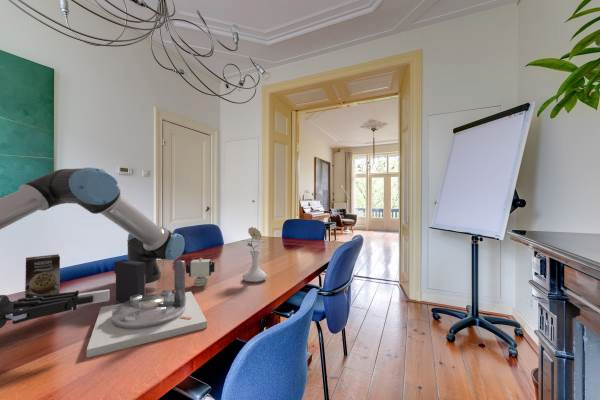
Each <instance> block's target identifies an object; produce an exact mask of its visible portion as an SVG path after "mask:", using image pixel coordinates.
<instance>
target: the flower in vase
mask: <svg viewBox="0 0 600 400" xmlns="http://www.w3.org/2000/svg"><path fill="white" fill-rule="evenodd" d="M247 232H248V234H249V236H250V237H251V241H250V242H247V245H246V246H248V247H250V248H252V249H251V250H249V253H250V255H251V259H252V265H251V267H250V268H249V269H248V270H246V271H245V272H244V273H243V275H242V280H244V281H246V282H249V283H257V282H262V281H265V280H266V279H267V277H268V275H267V273H266V272H265V271H263V270H262V269H261V268H259V266H258V257H259V255H260V252H261V250H259V249H255V248H257V247H258V246H259V244H258V245H255V246H253V240H255V241H260V240H262V237H263V236H262V233H261V231H260V230H259V229H258V228H257V227H253V226H251V227H248V230H247Z"/></svg>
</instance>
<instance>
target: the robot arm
mask: <svg viewBox="0 0 600 400" xmlns="http://www.w3.org/2000/svg"><path fill="white" fill-rule="evenodd" d="M118 184H119V183H118V180H117V178H116V177H115V176H114V175H113V174H112V173H110V172H109V171H107V170H105V169H103V168H95V167H83V168H61V169H57V170H55V171H54V170H53V171H51V172H49V173H46V174H44V175H41V176H39V177H37V178H34V179H32V180H30V181H27V182H26V183H24V184H23V183H22V184H21V185H20V186H19V188H18V190H16V191H14V192H12V193H9V194H7V195H4V196H3V197H0V231H1V230H2V229H4V228H6V227H8V226H10V225H12V224H14V223H16V222H18V221H20V220H22V219H24V218H25V217H28V216H30V215H33V213H37V211H44V212H45V211H47V210H49V209H50V208H53V207H57V206H59V205H64V204H76V205H79V206H80V207H82V208H83V209H85V210H86V211H88V212H89V213H91V214H92V215H96V214H101V215H103V216H104V217H105V218H107V219H108V220H109V221H111V222H113V223H114V224H115V225H117V227H120V228H121V229H123V230H125V232H127V233H128V235H127V236H128V237H127V240H126V242H127V260H129V261H138V262H144V263H145V284H147V283H151V282H154V281H157V280H159V279H161V272H162V271H161V269H160V266H159V265H158V264H159V263H158V261H157V260H165V261H166V260H167V261H174V260H175V261H176V260H177V259H178V258H180V256H181V255H182V254H183V253H184V250H185V245H186V244H185V238H184V236H183V235H181V234H179V233H172V231H171V230H170V229H168V228H167V227H165V226H158V225H157V223H155V222H153V221H152V220H151V219H150V218H149V217H147V216H146V215H145V214H144V213H142V212H141V211H140V210H139V209H138V208H136V207H135V206H134V205H133V204H132V203H131V202H129V201H128V200H126V198H124V197H123V196H122V195H121V194H122V191H121V189H120V188H119V185H118ZM9 299H10V298H9V297H8V296H7V295H6V294H0V329H2V328H3V327H5V325H6V323H7V322H9V321H12V325H17V324H20V323H23V322H26V321H30V320H35V319H38V318H43V317H47V316H51V315H56V314H61V313H65V312H69V311H72V310H73V312H74V311H76V310H77V309H78V307H79V306H86V305H91V304H97V303H98V304H99V303H103V302H109V301H110V289H109V288H108V289H103V290H102V289H101V290H96V291H89V292H81V293H80V291H79V290H75V291H68V292H59V293H54V294H34V295H31V298H25V297H22V298H18V299H17V300H14V301H10V300H9Z"/></svg>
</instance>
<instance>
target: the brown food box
mask: <svg viewBox="0 0 600 400" xmlns="http://www.w3.org/2000/svg"><path fill="white" fill-rule="evenodd" d="M60 266H61V256H60V254H59V253H58V254H49V255H40V256H39V255H38V256H30V257H29V256H28V257H26V258H25V278H24V280H25V281H24V282H25V283H24V284H25V285H24V298H31V295H34V294H54V293H60V284H61V283H60V282H61V281H60V280H61V276H60V275H61V267H60Z"/></svg>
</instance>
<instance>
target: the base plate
mask: <svg viewBox="0 0 600 400" xmlns="http://www.w3.org/2000/svg"><path fill="white" fill-rule="evenodd" d="M185 295H186V309H185V311H184V312H183V313H182V314H181V315H180V316H178V317H177V318H175V319H173V320H171V321H168V322H166V323H163V324H160V325H156V326H152V327H147V328H139V329H124V328H119V327H116V326H115V325H113V323H112V308H113V306H118V305H120V304H121V303H117V304H110V305H106V306H101V307H100V310H99V313H98V316H97V319H96V321H95V324H94V328H93V330H92V333H91V337H90V339H89V341H88V345H87V348H86V358H91V357H95V356H99V355H104V354H108V353H112V352H116V351H119V350H124V349H128V348H131V347H132V348H133V347H135V346H139V345H144V344H148V343H151V342H155V341H160V340H163V339H168V338H172V337H175V336H180V335H182V334H186V333H191V332H192V333H193V332H196V331H199V330H204V329H207V328H208V320H207V319H206V316H205V314H204V313H203V311H202V309H201V307H200V306H199V304H198V302H197V300H196V298H195V296H194V294H193V293H192V291H185Z"/></svg>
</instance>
